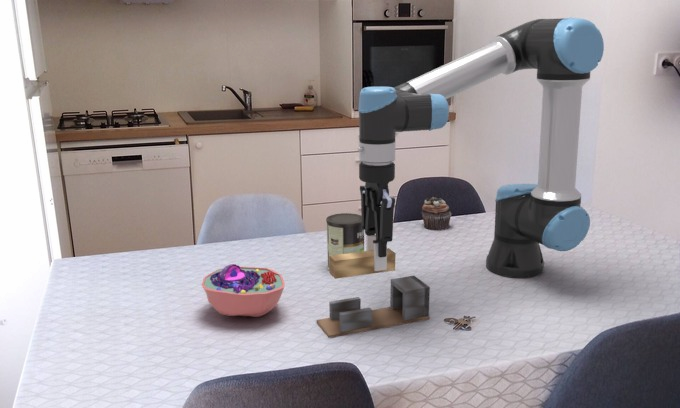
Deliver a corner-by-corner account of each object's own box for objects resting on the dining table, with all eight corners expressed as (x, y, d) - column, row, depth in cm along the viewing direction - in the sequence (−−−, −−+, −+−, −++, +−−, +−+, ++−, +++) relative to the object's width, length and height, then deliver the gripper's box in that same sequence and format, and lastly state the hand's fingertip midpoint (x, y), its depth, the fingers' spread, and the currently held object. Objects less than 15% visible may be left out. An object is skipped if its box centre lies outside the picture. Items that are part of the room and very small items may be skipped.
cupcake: (443, 233, 203) (444, 202, 200) (416, 228, 208) (416, 198, 206) (455, 225, 211) (456, 196, 208) (429, 220, 216) (429, 192, 213)
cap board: (412, 305, 150) (413, 275, 148) (429, 318, 143) (430, 287, 141) (316, 322, 142) (315, 290, 140) (328, 337, 135) (328, 304, 133)
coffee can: (367, 262, 179) (367, 213, 175) (361, 275, 169) (361, 224, 165) (331, 259, 181) (330, 212, 177) (323, 273, 171) (322, 222, 167)
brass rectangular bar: (388, 265, 143) (388, 248, 142) (395, 270, 140) (395, 253, 139) (329, 273, 138) (329, 255, 137) (334, 278, 135) (334, 260, 134)
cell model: (256, 338, 135) (253, 288, 132) (187, 317, 146) (184, 270, 143) (302, 309, 149) (300, 263, 146) (236, 291, 160) (234, 248, 157)
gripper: (346, 156, 140) (346, 256, 146) (376, 171, 125) (375, 282, 131) (377, 153, 143) (376, 252, 149) (410, 167, 128) (408, 277, 134)
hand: (376, 266), depth 140 cm, fingers closed on brass rectangular bar, 3 cm apart
